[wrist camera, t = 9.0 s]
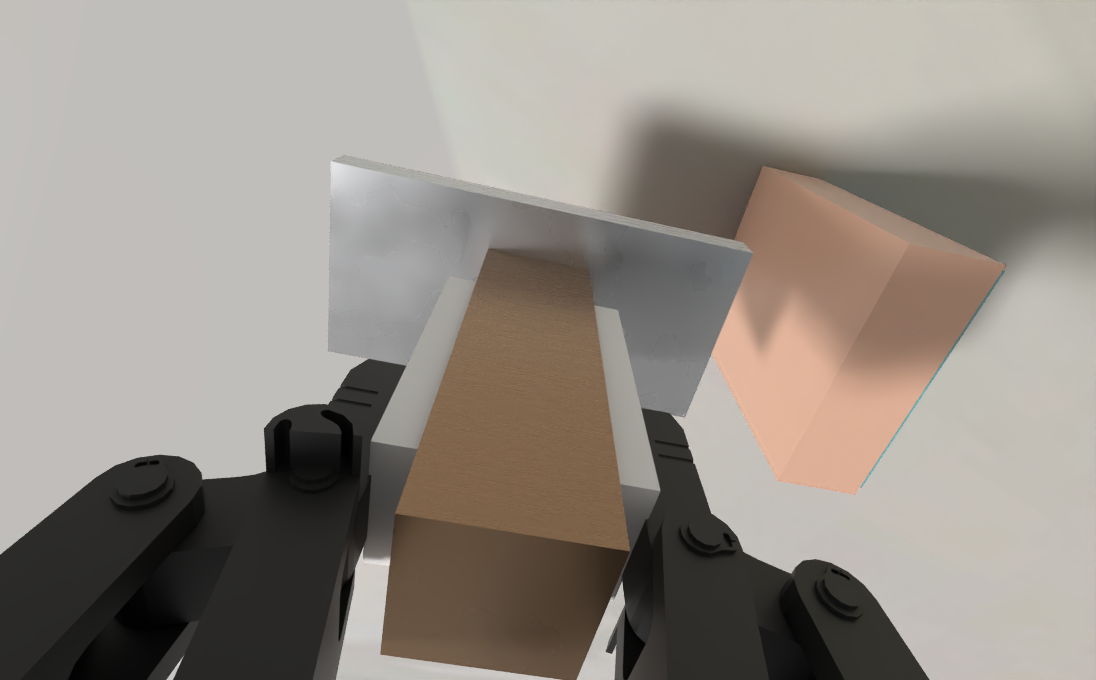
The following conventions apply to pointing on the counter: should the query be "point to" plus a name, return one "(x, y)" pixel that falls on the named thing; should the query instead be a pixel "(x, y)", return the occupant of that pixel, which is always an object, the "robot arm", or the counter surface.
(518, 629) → the trowel
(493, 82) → the counter surface
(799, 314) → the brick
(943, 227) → the counter surface
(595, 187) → the counter surface
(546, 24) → the counter surface
